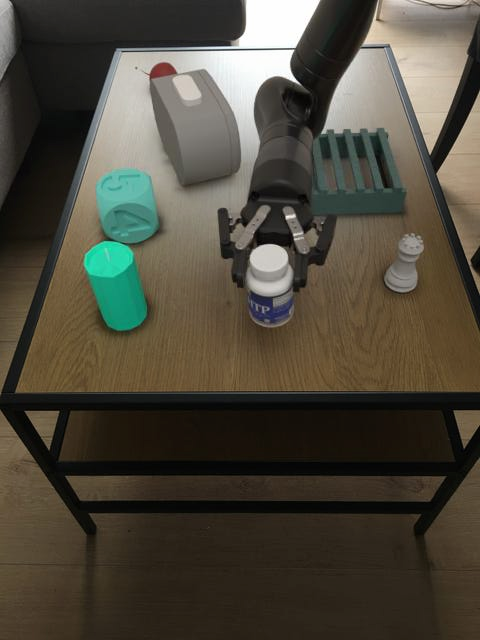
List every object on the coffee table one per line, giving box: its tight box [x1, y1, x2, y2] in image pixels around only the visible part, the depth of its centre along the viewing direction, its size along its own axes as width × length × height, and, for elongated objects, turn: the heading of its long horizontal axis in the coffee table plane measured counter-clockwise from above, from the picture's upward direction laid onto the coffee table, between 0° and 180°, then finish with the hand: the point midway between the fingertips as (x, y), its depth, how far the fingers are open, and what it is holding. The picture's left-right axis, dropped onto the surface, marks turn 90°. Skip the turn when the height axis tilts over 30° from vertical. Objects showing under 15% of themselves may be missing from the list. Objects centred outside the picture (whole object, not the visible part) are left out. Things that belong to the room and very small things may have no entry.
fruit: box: [134, 61, 179, 82], centre depth 107 cm, size 6×6×8 cm
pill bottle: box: [245, 244, 295, 328], centre depth 59 cm, size 5×5×9 cm
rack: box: [310, 127, 408, 216], centre depth 87 cm, size 14×16×5 cm
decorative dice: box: [95, 167, 160, 244], centre depth 81 cm, size 8×8×8 cm
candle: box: [83, 240, 148, 332], centre depth 68 cm, size 6×6×12 cm
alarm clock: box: [149, 68, 242, 186], centre depth 89 cm, size 21×10×13 cm, turn 19°
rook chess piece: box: [383, 233, 425, 294], centre depth 72 cm, size 4×4×8 cm
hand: (268, 284), depth 56 cm, fingers closed on pill bottle, 5 cm apart
